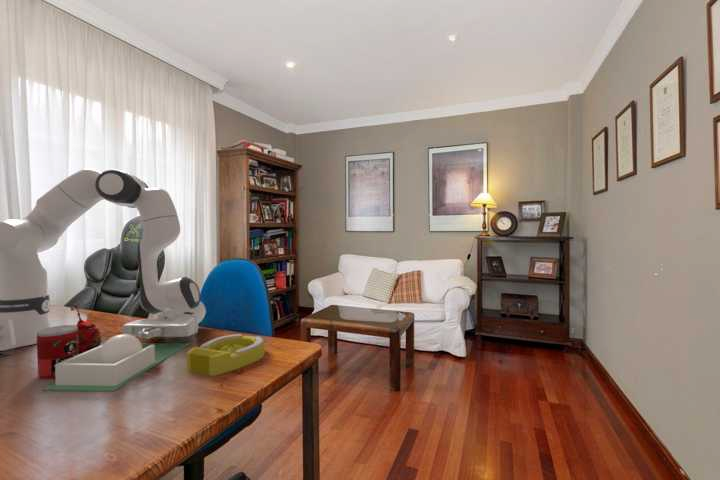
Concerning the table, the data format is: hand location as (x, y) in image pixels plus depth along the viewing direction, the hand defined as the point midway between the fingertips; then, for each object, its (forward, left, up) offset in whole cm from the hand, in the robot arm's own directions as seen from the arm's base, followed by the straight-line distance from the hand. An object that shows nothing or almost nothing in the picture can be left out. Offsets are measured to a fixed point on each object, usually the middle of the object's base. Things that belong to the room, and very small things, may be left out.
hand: (143, 335), depth 97 cm
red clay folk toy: (-18, +7, -6) cm, 20 cm away
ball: (-1, -10, -1) cm, 10 cm away
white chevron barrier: (-3, -12, -6) cm, 14 cm away
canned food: (-16, -9, -6) cm, 19 cm away
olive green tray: (+24, -8, -6) cm, 26 cm away
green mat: (-2, -6, -5) cm, 8 cm away
